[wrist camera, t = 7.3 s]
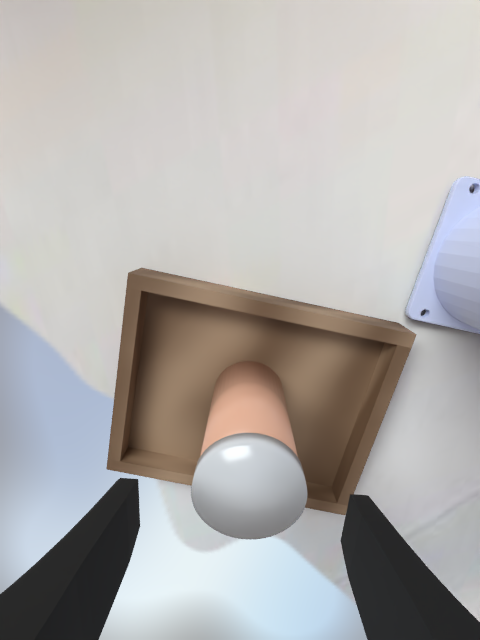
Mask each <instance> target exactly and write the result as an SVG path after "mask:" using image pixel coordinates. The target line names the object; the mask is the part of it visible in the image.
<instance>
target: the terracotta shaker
mask: <svg viewBox="0 0 480 640" xmlns="http://www.w3.org/2000/svg"><path fill="white" fill-rule="evenodd" d="M191 497H192V502H193V505H194V508H195V510H196V512H197V513H198V515H199V516H200V517H201V519H202V520H203V521H204V522H205V523H206V524H207V525H209V526H210V527H211V528H213V529H214V530H216V531H218V532H220V533H222V534H224V535H227V536H230V537H234V538H239V539H261V538H266V537H270V536H273V535H276V534H278V533H280V532H282V531H284V530H286V529H287V528H289V527H290V526H291V525H292V524H294V523H295V522H296V520H297V519H298V518H299V517H300V515H301V514H302V512H303V510H304V508H305V505H306V502H307V485H306V480H305V476H304V472H303V468H302V465H301V462H300V460H299V458H298V456H297V451H296V446H295V442H294V437H293V433H292V428H291V423H290V419H289V414H288V410H287V405H286V400H285V396H284V391H283V387H282V383H281V381H280V379H279V377H278V375H277V374H276V373H275V372H274V371H273V370H272V369H271V368H269V367H268V366H266V365H264V364H262V363H259V362H254V361H243V362H238V363H235V364H233V365H231V366H229V367H227V368H226V369H225V370H224V371H223V372H222V373H221V374H220V375H219V377H218V379H217V381H216V383H215V388H214V393H213V397H212V402H211V407H210V412H209V417H208V422H207V426H206V431H205V436H204V441H203V446H202V451H201V456H200V458H199V460H198V462H197V465H196V468H195V472H194V477H193V482H192V487H191Z"/></svg>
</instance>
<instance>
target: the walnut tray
mask: <svg viewBox="0 0 480 640" xmlns="http://www.w3.org/2000/svg"><path fill="white" fill-rule="evenodd" d="M415 337H416V334H415V333H413V332H412V331H410V330H408V329H407V328H405V327H404V326H402V325H401V324H399V323H396V322H391V321H387V320H382V319H377V318H373V317H368V316H363V315H359V314H354V313H349V312H345V311H340V310H335V309H331V308H326V307H321V306H317V305H312V304H307V303H303V302H298V301H293V300H289V299H284V298H279V297H275V296H270V295H266V294H261V293H256V292H252V291H247V290H242V289H238V288H233V287H228V286H224V285H219V284H214V283H210V282H205V281H200V280H196V279H191V278H186V277H182V276H177V275H172V274H168V273H163V272H158V271H154V270H149V269H144V268H140V269H137V270H135V271H132V272H129V273H128V279H127V288H126V297H125V306H124V316H123V325H122V334H121V343H120V352H119V361H118V370H117V379H116V388H115V397H114V408H113V416H112V425H111V434H110V443H109V452H108V461H107V469H108V470H113V471H119V472H124V473H129V474H134V475H139V476H145V477H150V478H155V479H160V480H165V481H170V482H176V483H181V484H186V485H191V486H192V482H193V477H194V472H195V468H196V465H197V462H198V460H199V458H200V456H201V451H202V446H203V441H204V436H205V431H206V426H207V422H208V417H209V412H210V407H211V402H212V397H213V393H214V388H215V383H216V381H217V379H218V377H219V375H220V374H221V373H222V372H223V371H224V370H225V369H226V368H227V367H229V366H231V365H233V364H235V363H238V362H243V361H254V362H259V363H262V364H264V365H266V366H268V367H269V368H271V369H272V370H273V371H274V372H275V373H276V374H277V375H278V377H279V379H280V381H281V383H282V387H283V391H284V396H285V400H286V405H287V410H288V414H289V419H290V423H291V428H292V433H293V437H294V442H295V446H296V451H297V456H298V458H299V460H300V462H301V465H302V468H303V472H304V476H305V480H306V485H307V502H306V505H305V508H310V509H316V510H321V511H326V512H331V513H336V514H342V515H345V514H346V512H347V507H348V502H349V497H350V494H354V491H355V489H356V486H357V484H358V481H359V479H360V476H361V474H362V471H363V469H364V466H365V464H366V461H367V458H368V456H369V453H370V451H371V448H372V446H373V443H374V441H375V438H376V436H377V433H378V431H379V428H380V426H381V423H382V421H383V418H384V415H385V413H386V410H387V408H388V405H389V403H390V400H391V398H392V395H393V393H394V390H395V388H396V385H397V383H398V380H399V378H400V375H401V372H402V370H403V367H404V365H405V362H406V360H407V357H408V355H409V352H410V350H411V347H412V345H413V342H414V340H415Z"/></svg>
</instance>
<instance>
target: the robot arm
mask: <svg viewBox="0 0 480 640" xmlns="http://www.w3.org/2000/svg"><path fill="white" fill-rule="evenodd" d="M471 185H474V192H473V193H470V191H469V188H470V186H471ZM424 309H425V310H426V313H425V315H423V316H421V315H420V314H421V311H422V310H424ZM405 312H406V315H407V316H408V317H409V318H411V319H413V320H418V321H422V322H427V323H432V324H436V325H441V326H446V327H450V328H455V329H459V330H464V331H469V332H473V333H478V334H480V179H477V178H473V177H468V176H465V177H461V178H458V179H457V180H456V181H454V183H453V185H452V187H451V190H450V193H449V195H448V198H447V201H446V203H445V206H444V209H443V211H442V214H441V217H440V219H439V222H438V225H437V227H436V230H435V233H434V235H433V238H432V241H431V243H430V246H429V249H428V251H427V254H426V257H425V259H424V262H423V264H422V267H421V270H420V272H419V275H418V278H417V280H416V283H415V286H414V288H413V291H412V294H411V296H410V299H409V302H408V304H407V307H406V311H405ZM139 516H140V515H139V491H138V479H127V478H120V479H119V480H118V481H116V482H115V484H114V485H113V486H112V487H111V488H110V489H109V490H108V491H107V492H106V494H105V495H104V496H103V497H102V498H101V499H100V500H99V501H98V502H97V504H95V505H94V507H93V508H92V509H91V510H90V511H89V512H88V513H87V514H86V515H85V516H84V517H83V518H82V519H81V520H80V521H79V522H78V523H77V524H76V525H75V526H74V527H73V528H72V529H71V530H70V532H68V533H67V534H66V535H65V536H64V538H62V539H61V540H60V541H59V542H58V543H57V544H56V545H55V546H54V547H53V548H52V549H51V550H50V551H49V552H48V553H46V554H45V555H44V557H42V558H41V559H40V560H39V561H38V562H37V563H36V564H35V565H34V566H33V567H31V568H30V569H29V570H28V571H27V572H26V573H25V574H24V575H22V576H21V577H20V578H19V579H18V580H17V581H16V582H14V583H13V584H12V585H11V586H10V587H9V588H7V589H6V590H5V591H4V592H2V593H1V594H0V640H98V639H99V637H100V635H101V632H102V629H103V627H104V624H105V622H106V619H107V617H108V615H109V612H110V610H111V607H112V604H113V602H114V599H115V597H116V595H117V592H118V589H119V587H120V584H121V582H122V579H123V577H124V574H125V572H126V569H127V567H128V564H129V562H130V558H131V555H132V552H133V548H134V545H135V541H136V538H137V535H138V531H139V527H140V518H139ZM341 544H342V549H343V554H344V559H345V564H346V569H347V573H348V578H349V581H350V584H351V588H352V591H353V594H354V597H355V601H356V604H357V607H358V610H359V614H360V617H361V620H362V623H363V626H364V630H365V633H366V636H367V639H368V640H480V622H479V621H478V620H477V619H476V618H475V617H474V616H473V615H472V614H471V613H470V612H469V611H468V610H467V609H466V608H465V607H464V606H463V605H462V604H461V603H460V602H459V601H458V600H457V599H456V598H455V597H454V596H453V595H452V594H451V592H450V591H449V590H448V589H447V588H446V587H445V586H444V585H443V584H442V583H441V582H440V581H439V580H438V578H437V577H436V576H435V575H434V574H433V573H432V572H431V571H430V569H429V568H428V567H427V566H426V565H425V564H424V563H423V561H422V560H421V559H420V558H419V557H418V556H417V554H416V553H415V552H414V551H413V550H412V549H411V547H410V546H409V545H408V544H407V543H406V542H405V540H404V539H403V538H402V537H401V535H400V534H399V533H398V532H397V531H396V529H395V528H394V527H393V526H392V524H391V523H390V522H389V521H388V520H387V518H386V517H385V516H384V515H383V513H382V512H381V511H380V510H379V508H378V507H377V506H376V505H375V503H374V502H373V501H372V500H371V498H370V497H369V496H367V495H353V494H350V497H349V502H348V507H347V512H346V517H345V522H344V527H343V532H342V537H341Z"/></svg>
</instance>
